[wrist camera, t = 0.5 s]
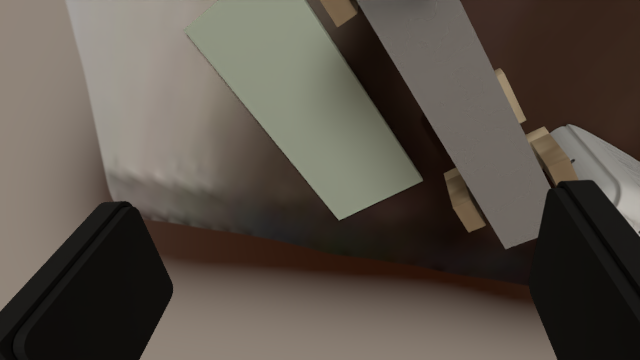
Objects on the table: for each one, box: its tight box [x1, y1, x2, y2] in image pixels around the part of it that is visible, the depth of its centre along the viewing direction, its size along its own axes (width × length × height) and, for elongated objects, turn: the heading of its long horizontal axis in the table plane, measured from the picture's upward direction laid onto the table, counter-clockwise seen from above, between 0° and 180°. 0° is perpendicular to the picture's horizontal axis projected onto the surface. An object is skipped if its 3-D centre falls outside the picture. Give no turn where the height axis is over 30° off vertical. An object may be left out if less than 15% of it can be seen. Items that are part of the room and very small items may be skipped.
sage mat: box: [184, 0, 423, 220], centre depth 38 cm, size 10×24×1 cm, turn 35°
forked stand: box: [320, 0, 579, 232], centre depth 28 cm, size 7×21×13 cm, turn 35°
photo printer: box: [550, 124, 640, 236], centre depth 33 cm, size 10×4×12 cm, turn 63°
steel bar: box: [357, 0, 551, 249], centre depth 23 cm, size 4×22×4 cm, turn 35°
